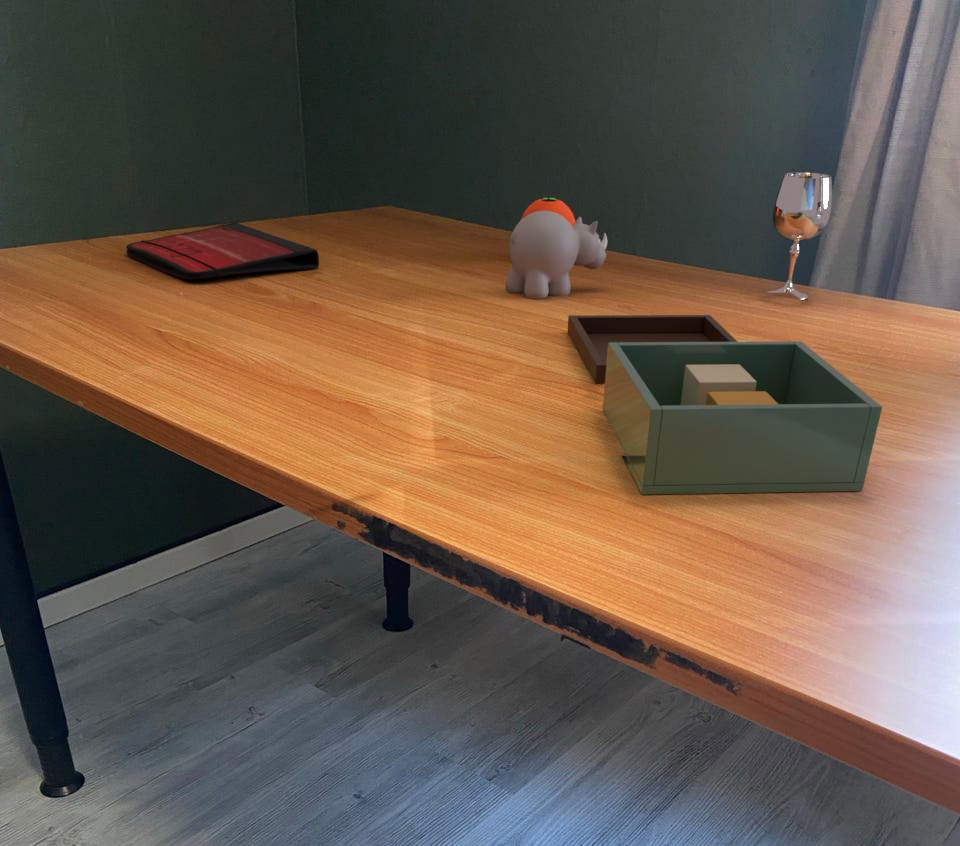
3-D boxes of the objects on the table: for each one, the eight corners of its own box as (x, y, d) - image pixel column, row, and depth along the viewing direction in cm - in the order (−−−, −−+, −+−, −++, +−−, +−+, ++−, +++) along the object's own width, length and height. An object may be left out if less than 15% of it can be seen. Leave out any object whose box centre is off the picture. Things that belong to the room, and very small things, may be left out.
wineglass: (781, 286, 112) (800, 170, 106) (824, 296, 108) (848, 176, 102) (749, 294, 109) (767, 174, 102) (793, 304, 105) (815, 181, 99)
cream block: (731, 417, 73) (740, 363, 71) (747, 437, 70) (757, 381, 68) (678, 418, 73) (685, 364, 71) (692, 437, 70) (699, 381, 68)
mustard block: (756, 447, 68) (766, 390, 66) (775, 470, 65) (786, 411, 63) (699, 448, 68) (707, 391, 66) (715, 471, 65) (724, 411, 63)
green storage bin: (787, 414, 76) (801, 341, 73) (862, 491, 64) (882, 406, 61) (601, 416, 75) (607, 342, 72) (641, 494, 63) (651, 409, 60)
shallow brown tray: (707, 337, 94) (710, 314, 93) (757, 389, 81) (761, 363, 80) (567, 338, 93) (568, 315, 92) (594, 390, 80) (596, 364, 79)
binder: (237, 220, 129) (319, 247, 115) (240, 239, 131) (321, 268, 117) (118, 238, 121) (190, 270, 107) (122, 258, 123) (194, 292, 109)
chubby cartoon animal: (623, 295, 108) (631, 211, 103) (529, 307, 103) (533, 219, 98) (586, 281, 113) (591, 201, 108) (495, 292, 108) (496, 208, 103)
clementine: (518, 250, 127) (520, 190, 123) (572, 251, 127) (576, 191, 123) (518, 263, 121) (520, 200, 117) (575, 265, 120) (579, 201, 117)
